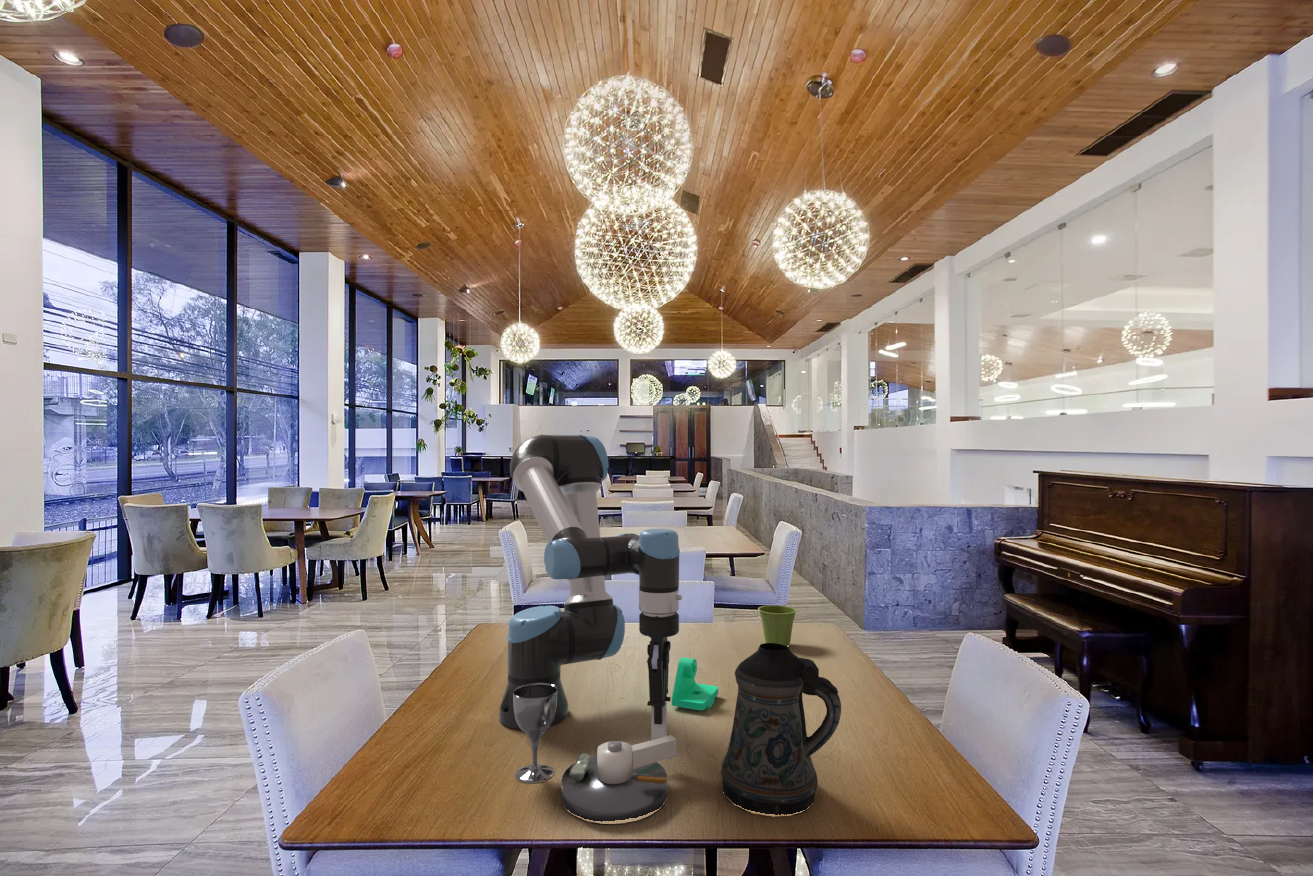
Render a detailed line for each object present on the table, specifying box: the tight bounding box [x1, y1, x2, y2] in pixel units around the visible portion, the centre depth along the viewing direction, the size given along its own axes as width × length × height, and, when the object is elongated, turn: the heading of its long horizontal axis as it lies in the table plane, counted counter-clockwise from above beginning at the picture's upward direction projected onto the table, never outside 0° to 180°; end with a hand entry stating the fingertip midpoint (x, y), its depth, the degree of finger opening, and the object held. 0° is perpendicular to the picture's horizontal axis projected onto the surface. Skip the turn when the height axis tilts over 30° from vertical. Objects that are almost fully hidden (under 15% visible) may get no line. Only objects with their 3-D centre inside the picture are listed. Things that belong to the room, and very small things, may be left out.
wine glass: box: [513, 683, 557, 785], centre depth 116 cm, size 8×8×15 cm
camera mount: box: [671, 657, 719, 711], centre depth 150 cm, size 12×8×10 cm, turn 157°
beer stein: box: [720, 642, 842, 815], centre depth 110 cm, size 16×19×25 cm
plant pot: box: [757, 604, 798, 646], centre depth 196 cm, size 12×12×11 cm
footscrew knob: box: [596, 735, 678, 784], centre depth 111 cm, size 15×6×5 cm, turn 121°
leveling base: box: [561, 753, 668, 822], centre depth 109 cm, size 18×18×5 cm
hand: (659, 738), depth 119 cm, fingers closed
